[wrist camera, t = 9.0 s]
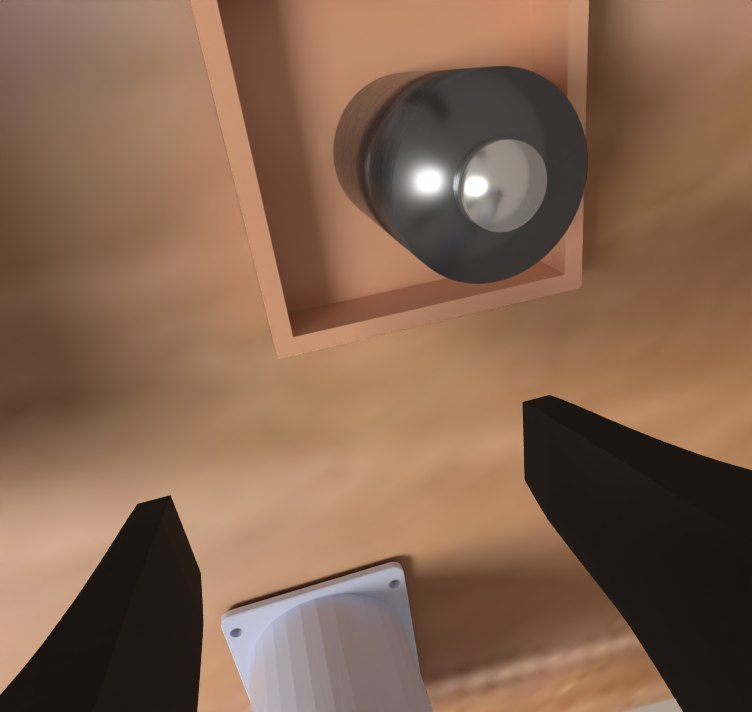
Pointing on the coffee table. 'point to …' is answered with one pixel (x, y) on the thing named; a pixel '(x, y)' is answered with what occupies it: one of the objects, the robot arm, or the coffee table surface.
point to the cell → (465, 166)
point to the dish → (316, 139)
